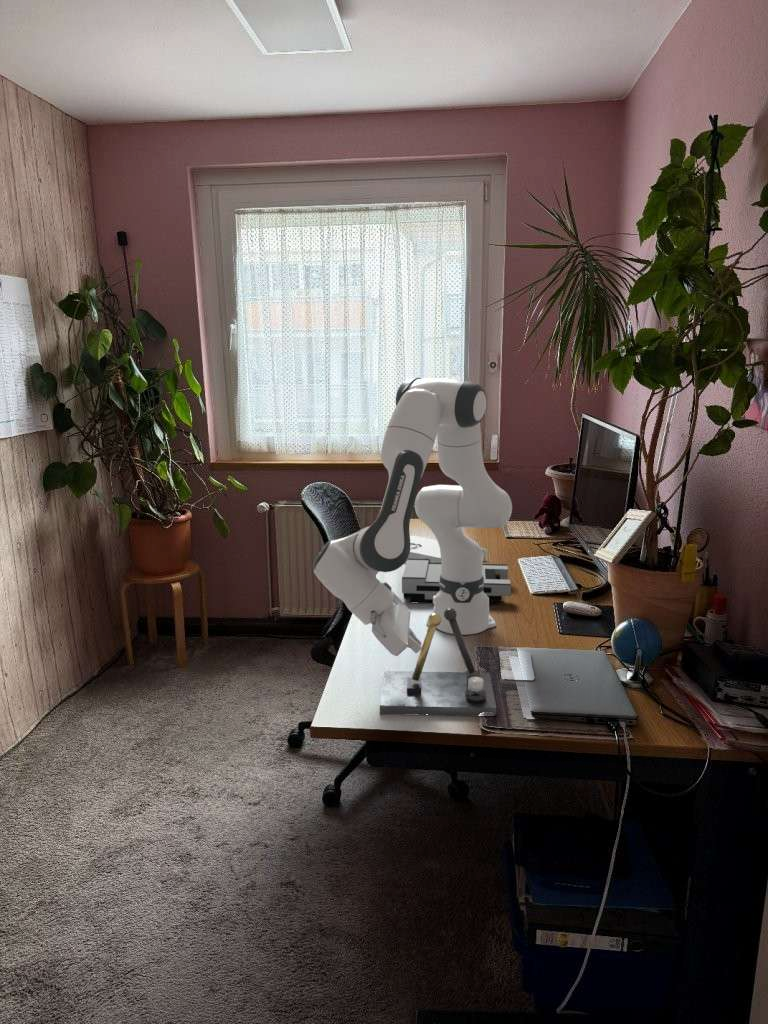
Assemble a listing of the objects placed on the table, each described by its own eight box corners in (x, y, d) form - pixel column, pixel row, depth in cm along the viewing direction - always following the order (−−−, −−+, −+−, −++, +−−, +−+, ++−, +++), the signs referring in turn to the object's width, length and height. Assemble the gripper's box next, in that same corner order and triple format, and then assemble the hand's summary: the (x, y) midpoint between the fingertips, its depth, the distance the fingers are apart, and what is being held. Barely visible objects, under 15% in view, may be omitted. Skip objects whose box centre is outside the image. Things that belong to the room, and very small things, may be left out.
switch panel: (384, 679, 159) (384, 666, 158) (489, 681, 158) (489, 668, 157) (379, 714, 144) (379, 700, 143) (496, 716, 142) (496, 702, 141)
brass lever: (409, 674, 151) (430, 609, 148) (421, 677, 151) (442, 613, 148) (409, 680, 149) (430, 614, 145) (421, 683, 149) (442, 618, 145)
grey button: (467, 684, 147) (467, 676, 147) (482, 684, 147) (482, 676, 146) (468, 691, 144) (468, 683, 143) (483, 691, 144) (484, 683, 143)
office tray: (510, 607, 204) (510, 581, 202) (402, 604, 207) (401, 578, 206) (506, 585, 224) (507, 560, 222) (408, 582, 228) (407, 558, 226)
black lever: (465, 670, 155) (441, 608, 152) (477, 667, 154) (453, 604, 151) (466, 676, 152) (442, 613, 149) (478, 672, 152) (454, 608, 149)
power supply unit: (458, 575, 235) (458, 561, 234) (382, 559, 255) (382, 546, 253) (486, 562, 249) (486, 549, 248) (412, 547, 269) (412, 535, 268)
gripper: (380, 612, 136) (429, 659, 138) (387, 579, 156) (429, 621, 158) (358, 633, 137) (407, 679, 139) (367, 597, 157) (410, 639, 159)
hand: (419, 648), depth 148 cm, fingers closed, pressing on brass lever
